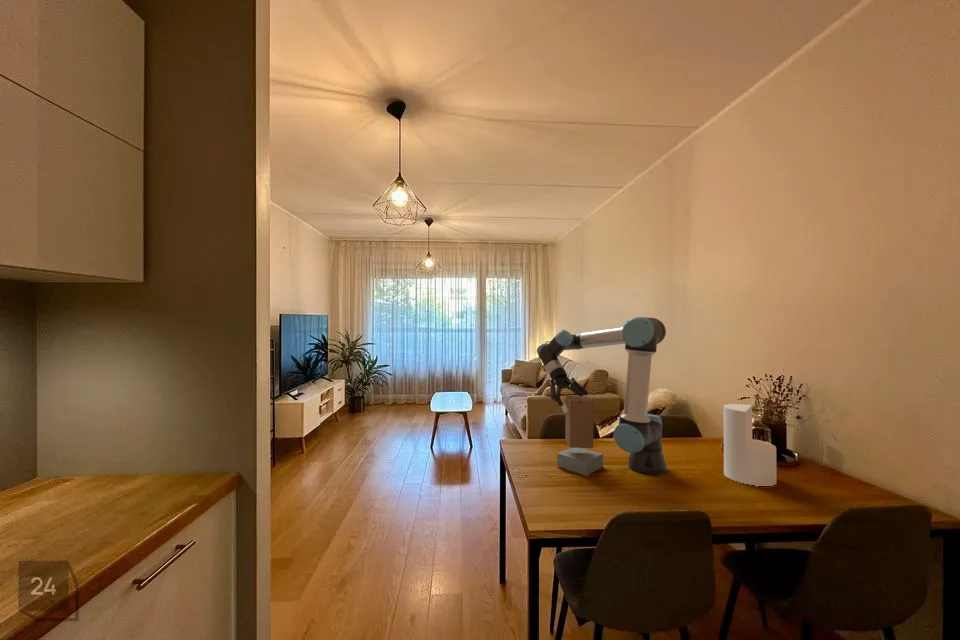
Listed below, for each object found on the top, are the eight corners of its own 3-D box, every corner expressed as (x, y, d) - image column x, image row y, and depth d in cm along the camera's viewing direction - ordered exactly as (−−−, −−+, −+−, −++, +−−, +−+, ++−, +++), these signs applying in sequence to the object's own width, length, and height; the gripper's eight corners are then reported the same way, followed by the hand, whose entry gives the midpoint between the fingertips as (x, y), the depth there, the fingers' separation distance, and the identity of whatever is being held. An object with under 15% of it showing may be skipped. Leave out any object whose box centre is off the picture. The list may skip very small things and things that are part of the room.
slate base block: (602, 467, 162) (602, 453, 163) (586, 476, 153) (586, 461, 153) (574, 459, 172) (574, 446, 172) (557, 467, 162) (557, 453, 163)
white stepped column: (719, 478, 151) (719, 408, 152) (728, 466, 164) (727, 402, 164) (774, 491, 139) (773, 415, 140) (778, 477, 152) (778, 408, 153)
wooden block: (593, 448, 158) (594, 400, 158) (569, 447, 158) (570, 400, 158) (587, 440, 168) (588, 396, 168) (565, 440, 168) (565, 395, 168)
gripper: (572, 375, 185) (595, 412, 172) (531, 378, 174) (552, 418, 160) (580, 365, 181) (603, 402, 167) (538, 367, 169) (560, 408, 156)
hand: (578, 410), depth 164 cm, fingers closed on wooden block, 12 cm apart
